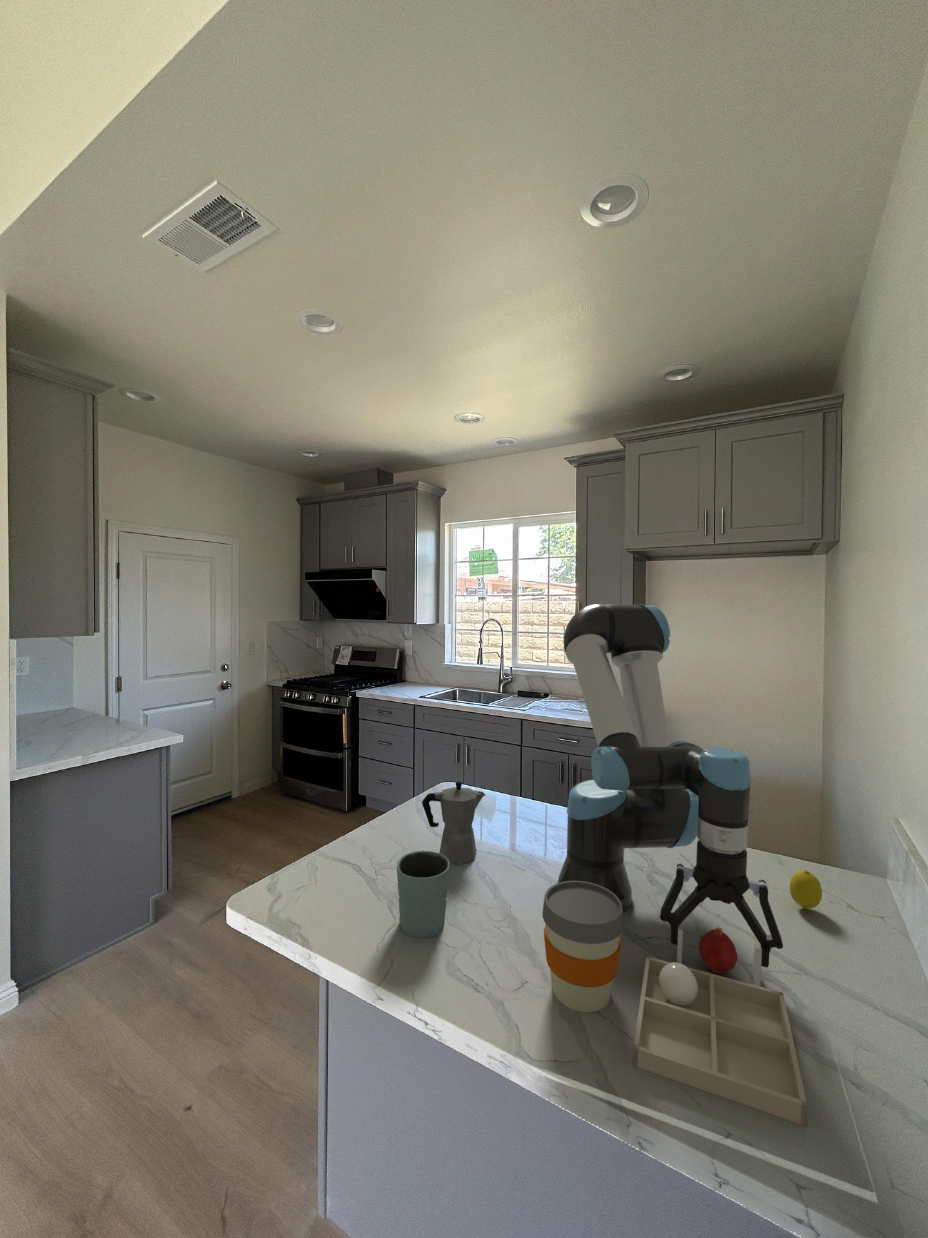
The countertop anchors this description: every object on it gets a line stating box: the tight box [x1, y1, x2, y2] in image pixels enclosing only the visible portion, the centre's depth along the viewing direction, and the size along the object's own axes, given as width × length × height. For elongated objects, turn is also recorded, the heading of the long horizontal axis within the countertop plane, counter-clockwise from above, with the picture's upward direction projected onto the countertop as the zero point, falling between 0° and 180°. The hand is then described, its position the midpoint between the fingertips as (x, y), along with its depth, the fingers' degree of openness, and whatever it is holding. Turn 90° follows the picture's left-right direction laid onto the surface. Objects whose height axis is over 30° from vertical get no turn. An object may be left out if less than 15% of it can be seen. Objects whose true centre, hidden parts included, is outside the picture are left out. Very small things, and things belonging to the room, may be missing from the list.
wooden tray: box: [632, 955, 808, 1127], centre depth 77 cm, size 20×20×3 cm
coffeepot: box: [421, 781, 486, 865], centre depth 129 cm, size 15×9×18 cm, turn 103°
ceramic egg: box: [659, 961, 698, 1006], centre depth 83 cm, size 6×6×6 cm
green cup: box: [396, 850, 451, 939], centre depth 102 cm, size 10×10×12 cm
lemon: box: [789, 869, 823, 910], centre depth 109 cm, size 6×6×8 cm
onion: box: [698, 926, 738, 975], centre depth 90 cm, size 6×6×8 cm
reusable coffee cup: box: [541, 881, 625, 1013], centre depth 85 cm, size 13×13×15 cm
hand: (717, 972), depth 90 cm, fingers open, 11 cm apart
